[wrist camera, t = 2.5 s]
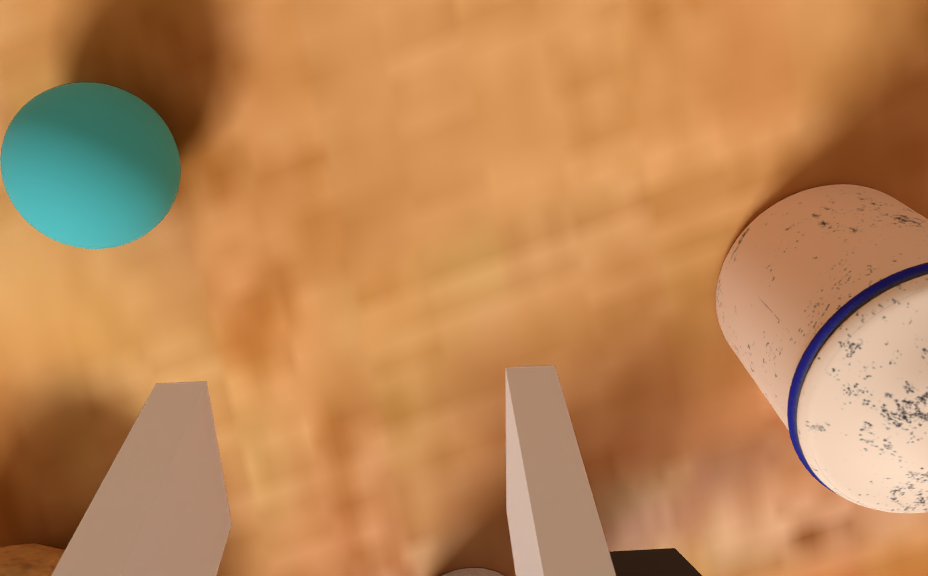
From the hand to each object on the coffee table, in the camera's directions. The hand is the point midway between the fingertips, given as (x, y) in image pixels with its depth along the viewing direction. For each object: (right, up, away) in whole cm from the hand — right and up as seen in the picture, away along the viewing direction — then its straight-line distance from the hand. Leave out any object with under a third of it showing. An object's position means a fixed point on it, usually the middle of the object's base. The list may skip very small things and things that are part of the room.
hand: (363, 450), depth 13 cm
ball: (-11, +7, +15) cm, 20 cm away
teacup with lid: (+17, +4, +21) cm, 27 cm away
